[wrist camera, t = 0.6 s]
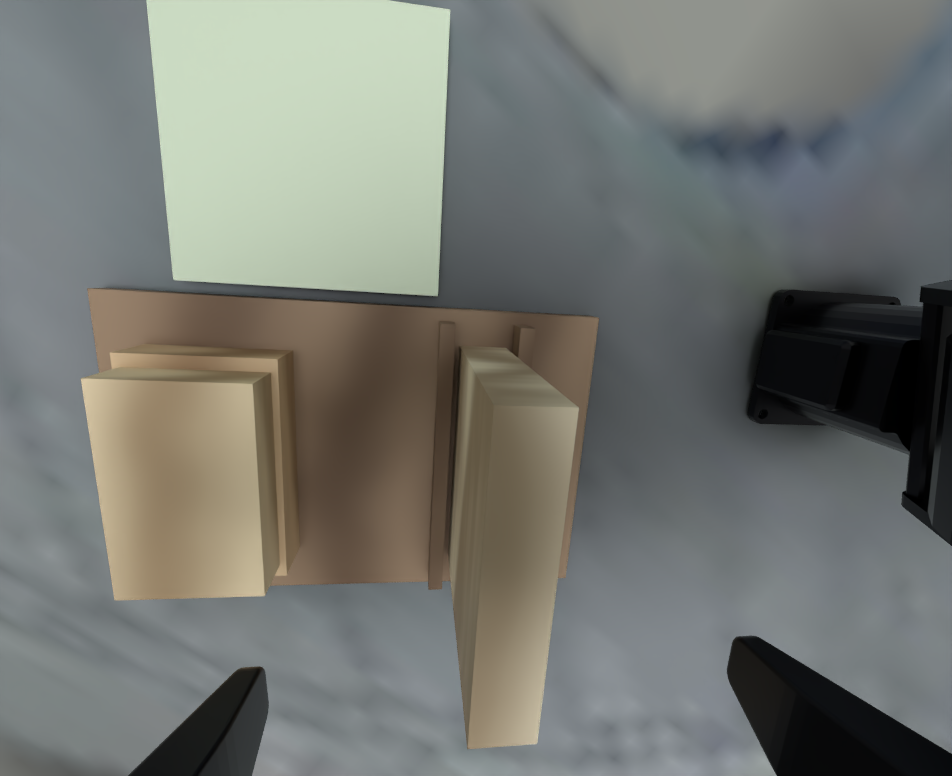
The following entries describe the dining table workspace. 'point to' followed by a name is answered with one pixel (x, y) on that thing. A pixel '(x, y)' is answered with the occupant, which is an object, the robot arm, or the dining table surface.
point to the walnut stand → (365, 410)
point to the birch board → (506, 538)
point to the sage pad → (302, 141)
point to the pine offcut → (185, 480)
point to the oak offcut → (282, 414)
